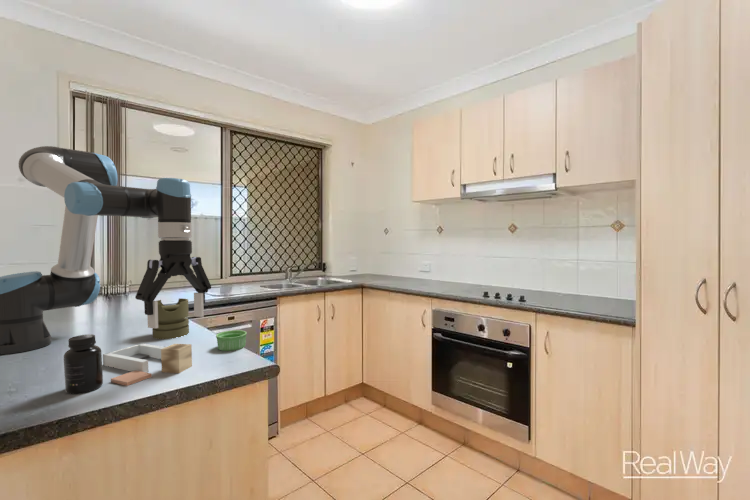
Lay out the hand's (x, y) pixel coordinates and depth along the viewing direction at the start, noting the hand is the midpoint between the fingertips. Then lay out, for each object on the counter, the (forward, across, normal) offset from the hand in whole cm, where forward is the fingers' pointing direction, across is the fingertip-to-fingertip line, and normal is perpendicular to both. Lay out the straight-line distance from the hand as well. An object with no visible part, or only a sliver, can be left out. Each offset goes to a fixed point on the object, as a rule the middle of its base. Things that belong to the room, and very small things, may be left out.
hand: (177, 321), depth 96 cm
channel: (+13, 0, +14) cm, 19 cm away
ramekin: (+13, +20, +2) cm, 24 cm away
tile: (+13, -9, +5) cm, 16 cm away
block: (+13, 0, +1) cm, 13 cm away
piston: (+13, +24, +33) cm, 42 cm away
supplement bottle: (+13, -17, +10) cm, 23 cm away
